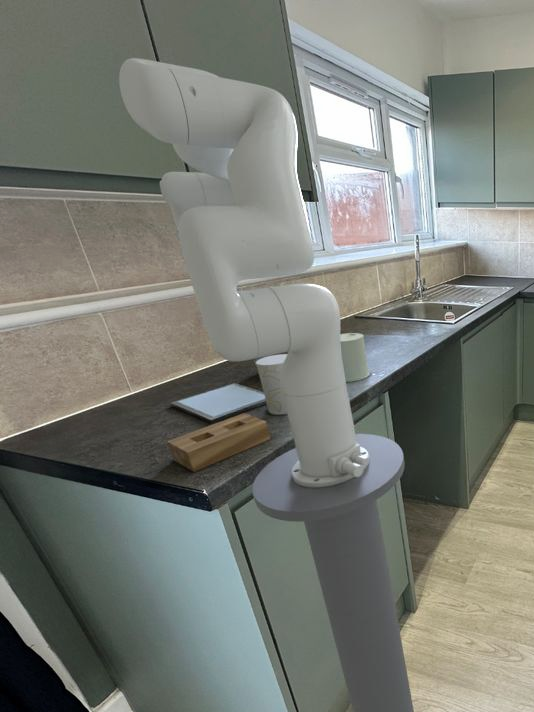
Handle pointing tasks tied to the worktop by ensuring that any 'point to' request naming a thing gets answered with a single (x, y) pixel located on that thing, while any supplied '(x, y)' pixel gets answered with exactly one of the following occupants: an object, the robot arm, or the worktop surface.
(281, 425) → the worktop surface
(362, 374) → the pale green tapered cylinder
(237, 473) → the worktop surface
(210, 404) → the tablet
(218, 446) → the holder
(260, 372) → the cup
